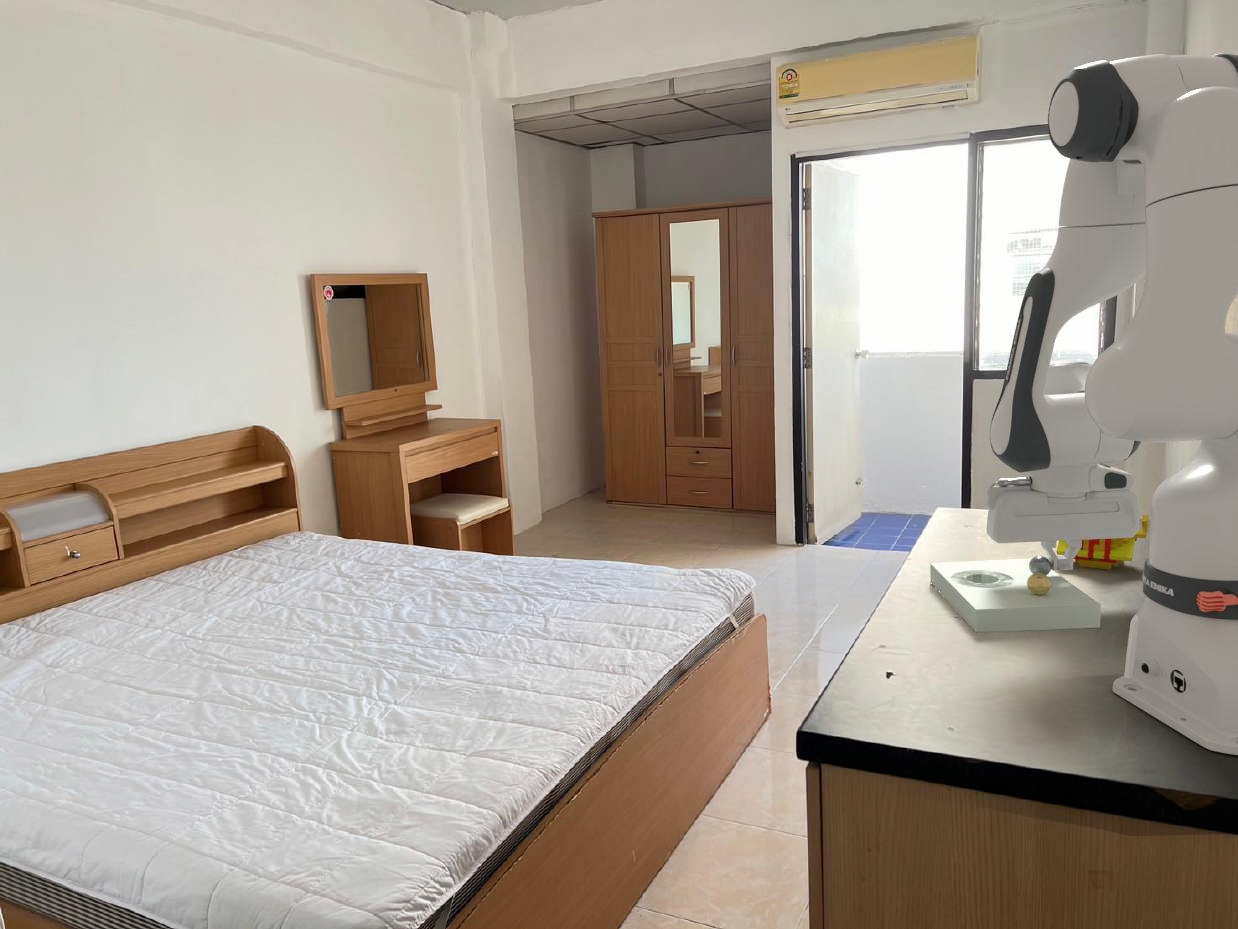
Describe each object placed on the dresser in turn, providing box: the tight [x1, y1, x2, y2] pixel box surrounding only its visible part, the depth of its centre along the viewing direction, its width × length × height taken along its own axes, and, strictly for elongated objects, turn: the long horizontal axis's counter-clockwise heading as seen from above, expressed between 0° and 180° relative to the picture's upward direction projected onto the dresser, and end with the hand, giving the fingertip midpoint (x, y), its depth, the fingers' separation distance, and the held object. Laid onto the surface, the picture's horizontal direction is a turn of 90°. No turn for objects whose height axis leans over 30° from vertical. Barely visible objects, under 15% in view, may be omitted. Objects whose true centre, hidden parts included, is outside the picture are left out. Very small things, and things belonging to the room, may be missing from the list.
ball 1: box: [1029, 555, 1052, 575], centre depth 132 cm, size 3×3×3 cm
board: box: [929, 557, 1102, 634], centre depth 131 cm, size 22×16×3 cm
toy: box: [1055, 514, 1150, 570], centre depth 144 cm, size 14×10×15 cm
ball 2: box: [1027, 573, 1051, 595], centre depth 124 cm, size 3×3×3 cm
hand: (1060, 569), depth 131 cm, fingers closed
